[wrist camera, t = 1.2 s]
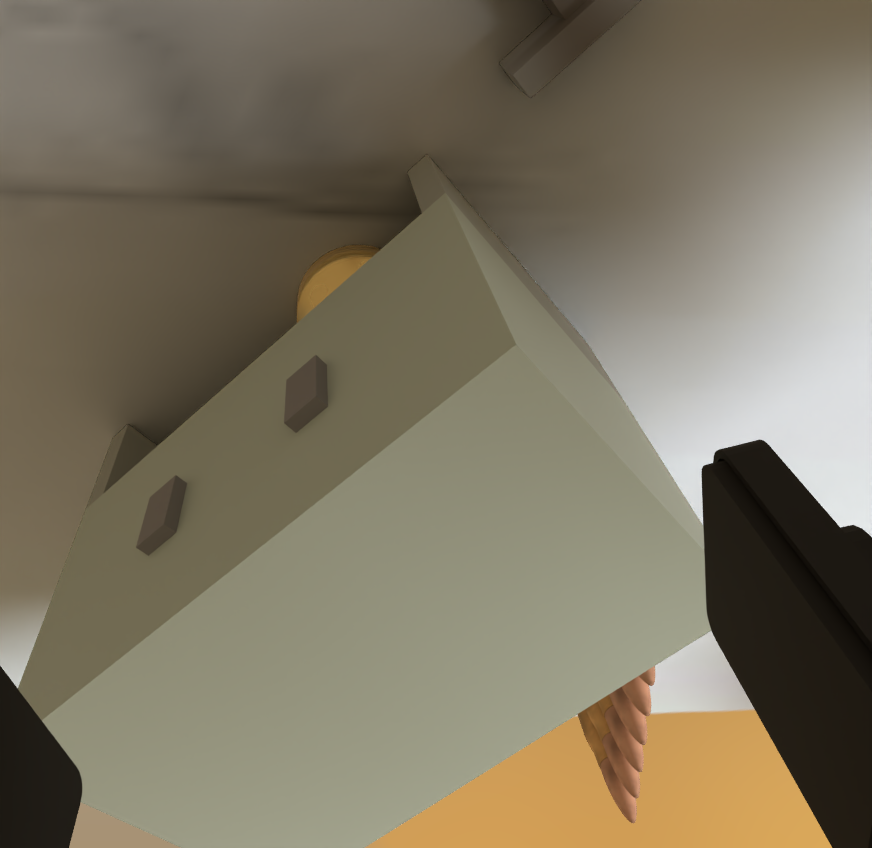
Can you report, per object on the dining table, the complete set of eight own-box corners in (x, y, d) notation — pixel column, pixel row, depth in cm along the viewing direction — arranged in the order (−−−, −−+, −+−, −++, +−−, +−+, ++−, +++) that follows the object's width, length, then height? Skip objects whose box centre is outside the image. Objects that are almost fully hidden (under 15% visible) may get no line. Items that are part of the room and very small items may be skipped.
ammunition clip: (548, 477, 40) (629, 670, 30) (586, 472, 40) (678, 663, 30) (544, 632, 45) (610, 838, 35) (577, 627, 46) (652, 831, 35)
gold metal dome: (362, 217, 32) (364, 232, 30) (442, 303, 34) (449, 321, 33) (271, 298, 33) (269, 317, 32) (355, 376, 36) (357, 397, 34)
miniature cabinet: (419, 144, 30) (503, 330, 17) (588, 344, 36) (752, 604, 22) (104, 431, 35) (-25, 754, 22) (296, 569, 41) (287, 895, 27)
